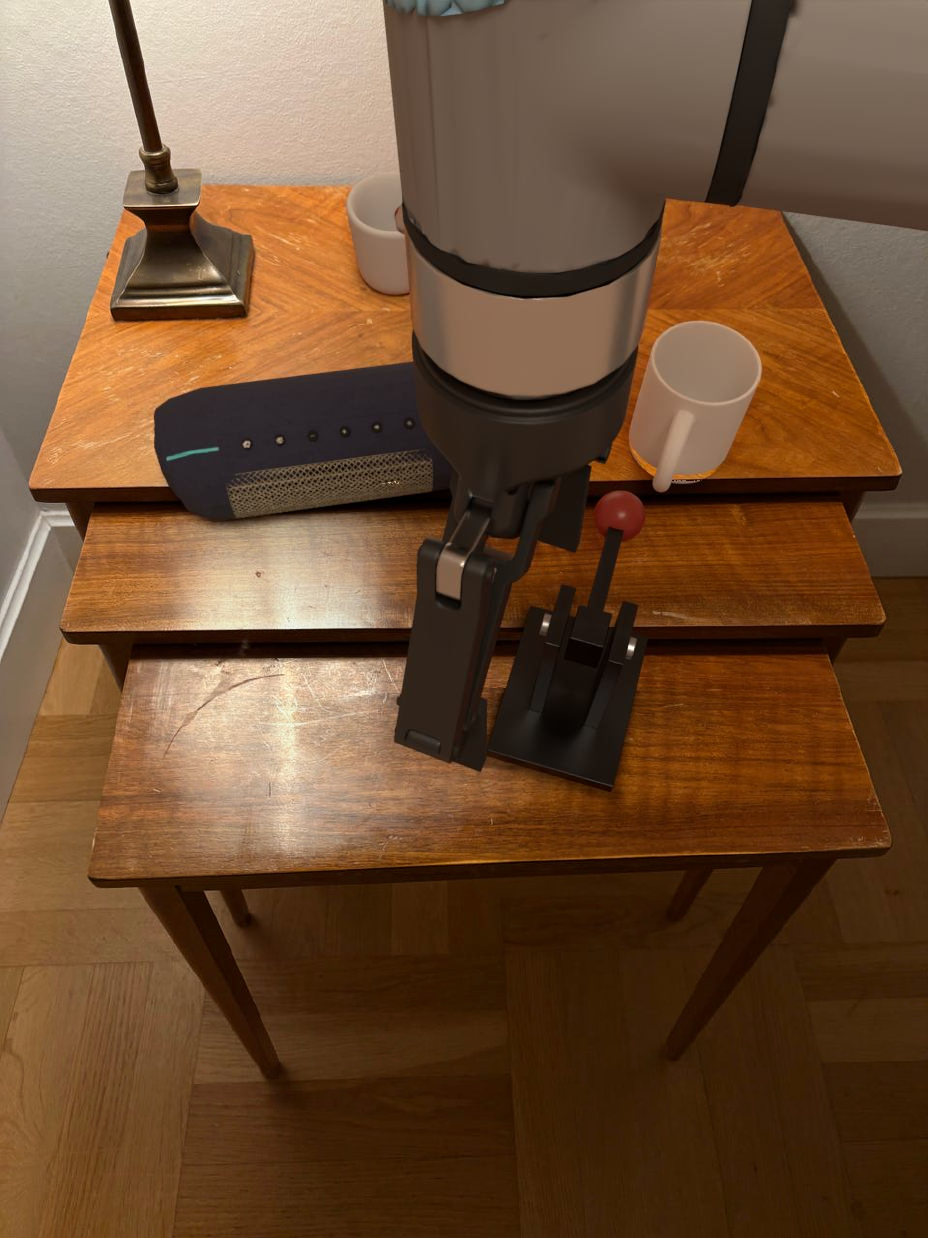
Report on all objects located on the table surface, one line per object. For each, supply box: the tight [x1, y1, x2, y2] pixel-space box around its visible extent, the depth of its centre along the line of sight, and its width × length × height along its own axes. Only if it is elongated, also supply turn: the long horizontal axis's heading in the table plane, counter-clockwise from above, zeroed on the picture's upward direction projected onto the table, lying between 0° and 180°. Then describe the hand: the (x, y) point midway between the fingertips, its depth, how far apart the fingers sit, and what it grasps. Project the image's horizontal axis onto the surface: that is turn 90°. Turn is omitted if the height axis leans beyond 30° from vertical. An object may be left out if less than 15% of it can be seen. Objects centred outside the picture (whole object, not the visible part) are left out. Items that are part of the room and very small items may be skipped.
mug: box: [628, 320, 763, 493], centre depth 76 cm, size 12×8×10 cm
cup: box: [345, 171, 409, 296], centre depth 86 cm, size 11×8×8 cm
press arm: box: [564, 490, 646, 668], centre depth 65 cm, size 14×4×4 cm, turn 163°
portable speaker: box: [153, 360, 453, 522], centre depth 75 cm, size 25×10×10 cm, turn 101°
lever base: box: [487, 583, 649, 793], centre depth 66 cm, size 12×9×12 cm
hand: (508, 641), depth 50 cm, fingers open, 13 cm apart
